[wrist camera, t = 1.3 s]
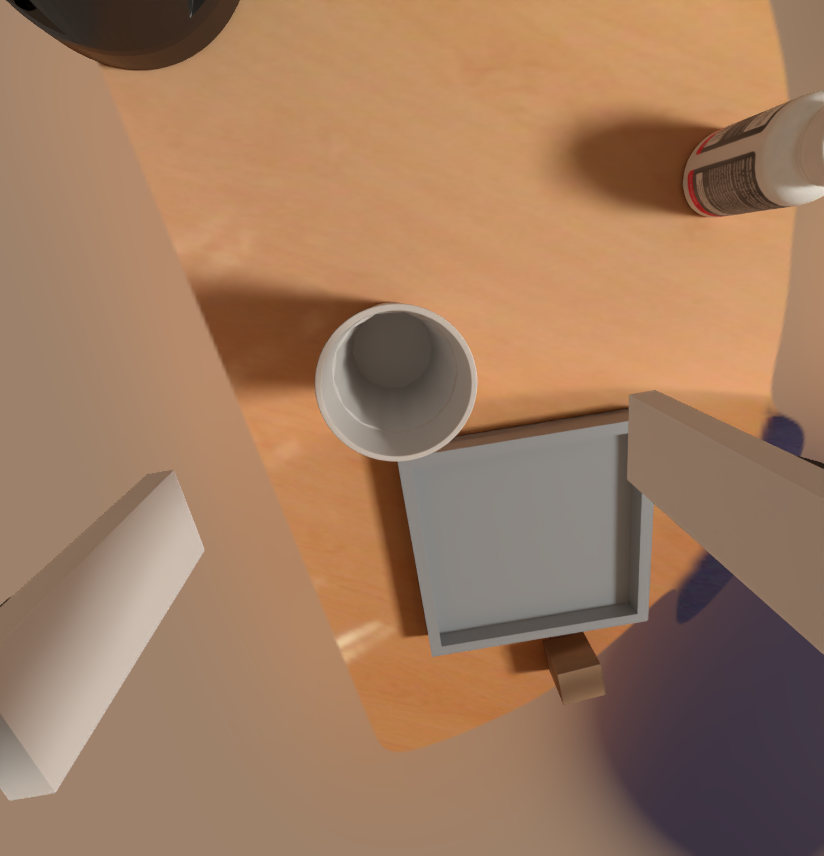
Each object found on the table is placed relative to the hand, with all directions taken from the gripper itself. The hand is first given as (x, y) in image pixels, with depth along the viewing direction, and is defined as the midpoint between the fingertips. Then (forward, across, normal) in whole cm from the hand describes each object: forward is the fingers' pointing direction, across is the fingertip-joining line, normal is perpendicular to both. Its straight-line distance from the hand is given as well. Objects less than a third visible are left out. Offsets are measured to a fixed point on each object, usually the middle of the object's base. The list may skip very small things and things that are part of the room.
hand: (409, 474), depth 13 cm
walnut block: (+21, +12, -33) cm, 41 cm away
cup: (+22, 0, 0) cm, 22 cm away
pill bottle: (+22, +24, +8) cm, 33 cm away
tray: (+21, +9, -18) cm, 29 cm away
